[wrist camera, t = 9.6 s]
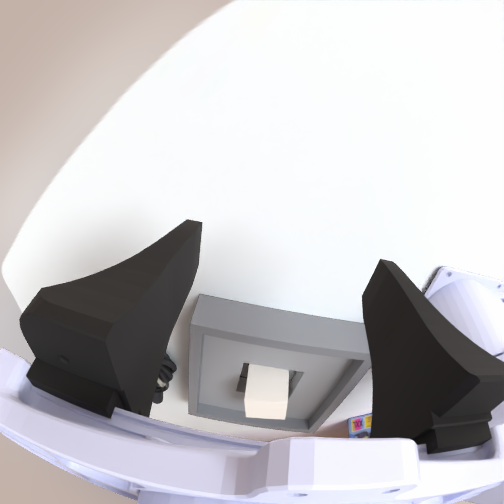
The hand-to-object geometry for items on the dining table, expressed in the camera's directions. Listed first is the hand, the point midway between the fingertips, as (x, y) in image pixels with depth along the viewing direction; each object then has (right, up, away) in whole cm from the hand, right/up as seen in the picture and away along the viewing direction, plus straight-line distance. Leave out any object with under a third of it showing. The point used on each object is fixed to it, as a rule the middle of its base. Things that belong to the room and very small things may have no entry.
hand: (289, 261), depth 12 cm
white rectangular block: (0, -12, +20) cm, 23 cm away
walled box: (0, -12, +20) cm, 23 cm away
